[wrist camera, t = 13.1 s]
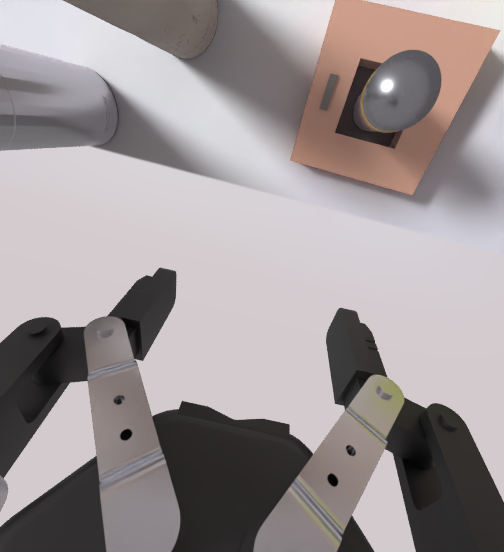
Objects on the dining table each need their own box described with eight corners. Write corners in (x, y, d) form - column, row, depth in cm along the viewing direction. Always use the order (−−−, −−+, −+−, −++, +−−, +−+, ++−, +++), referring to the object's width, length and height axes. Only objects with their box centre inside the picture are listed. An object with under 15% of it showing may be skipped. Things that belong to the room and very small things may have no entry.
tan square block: (293, 158, 34) (289, 160, 31) (336, 8, 27) (337, -7, 24) (405, 189, 32) (413, 195, 29) (481, 41, 25) (502, 29, 22)
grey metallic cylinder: (345, 126, 31) (352, 123, 19) (362, 78, 29) (383, 40, 17) (385, 137, 30) (418, 140, 19) (406, 88, 28) (459, 56, 16)
